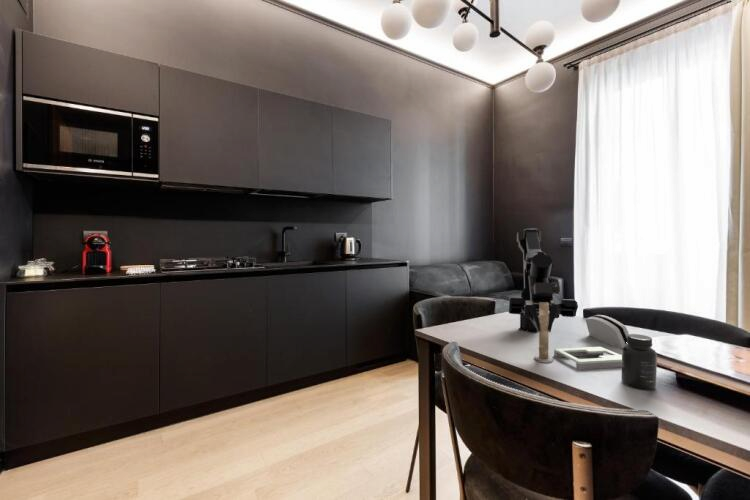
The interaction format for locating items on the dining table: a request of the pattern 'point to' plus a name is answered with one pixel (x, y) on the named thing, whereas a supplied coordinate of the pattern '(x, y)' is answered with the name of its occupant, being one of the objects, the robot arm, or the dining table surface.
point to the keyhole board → (592, 363)
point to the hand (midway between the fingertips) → (544, 331)
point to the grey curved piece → (607, 330)
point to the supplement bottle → (639, 363)
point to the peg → (543, 334)
